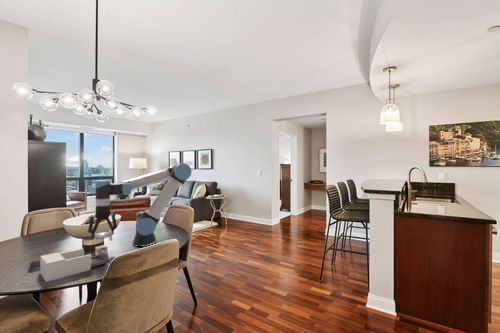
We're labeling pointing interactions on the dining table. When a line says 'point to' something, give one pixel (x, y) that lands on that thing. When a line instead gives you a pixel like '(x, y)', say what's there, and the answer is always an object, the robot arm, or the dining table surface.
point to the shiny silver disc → (102, 235)
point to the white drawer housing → (64, 264)
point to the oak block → (100, 248)
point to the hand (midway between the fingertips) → (102, 241)
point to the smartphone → (34, 266)
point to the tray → (99, 258)
